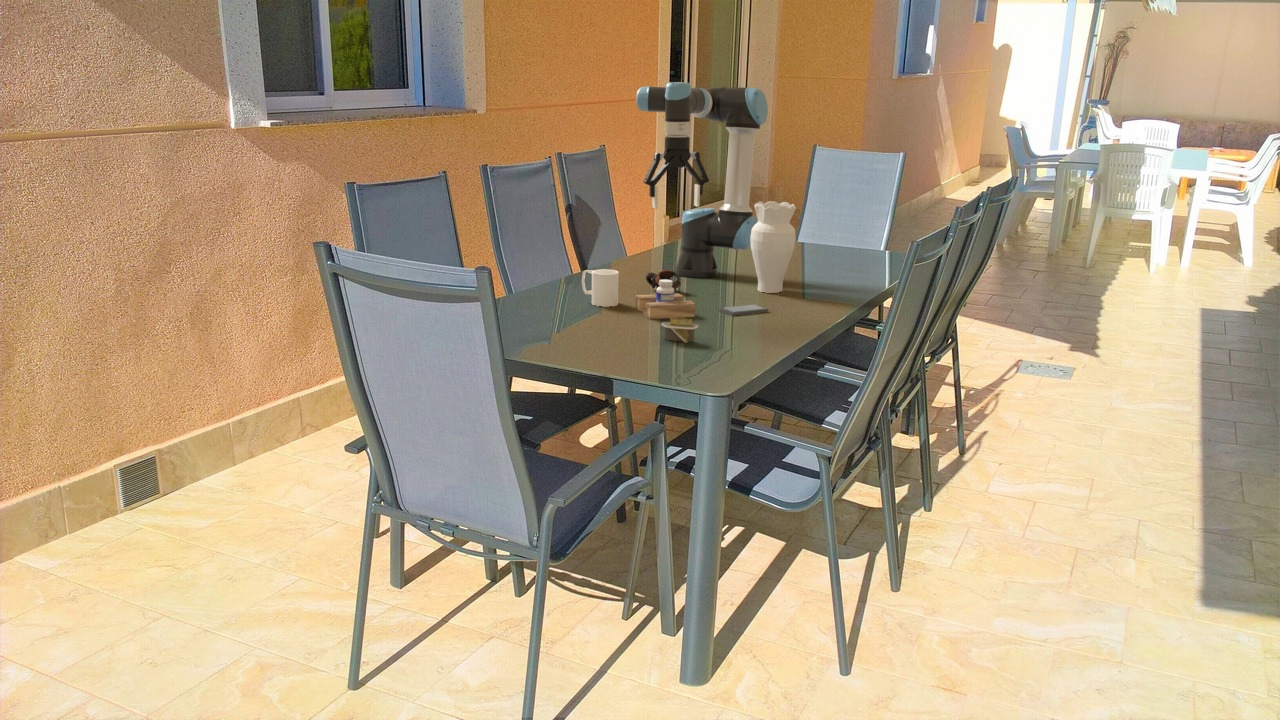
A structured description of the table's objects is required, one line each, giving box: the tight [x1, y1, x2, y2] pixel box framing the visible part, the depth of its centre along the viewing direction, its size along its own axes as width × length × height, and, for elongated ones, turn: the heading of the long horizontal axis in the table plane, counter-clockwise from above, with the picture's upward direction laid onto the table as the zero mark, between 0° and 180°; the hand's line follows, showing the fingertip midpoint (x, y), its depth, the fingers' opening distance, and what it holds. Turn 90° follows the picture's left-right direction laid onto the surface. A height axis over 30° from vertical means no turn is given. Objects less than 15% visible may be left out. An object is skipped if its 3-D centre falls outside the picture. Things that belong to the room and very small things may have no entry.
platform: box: [661, 318, 699, 343], centre depth 271 cm, size 12×18×7 cm, turn 79°
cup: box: [581, 268, 620, 308], centre depth 312 cm, size 8×12×10 cm
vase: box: [750, 200, 797, 294], centre depth 331 cm, size 15×15×29 cm
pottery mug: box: [645, 269, 682, 291], centre depth 331 cm, size 12×10×8 cm
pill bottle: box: [655, 279, 675, 302], centre depth 302 cm, size 5×5×10 cm
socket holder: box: [635, 293, 696, 320], centre depth 303 cm, size 14×14×4 cm
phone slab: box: [719, 303, 769, 317], centre depth 307 cm, size 7×13×1 cm, turn 117°
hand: (675, 207), depth 308 cm, fingers open, 13 cm apart
